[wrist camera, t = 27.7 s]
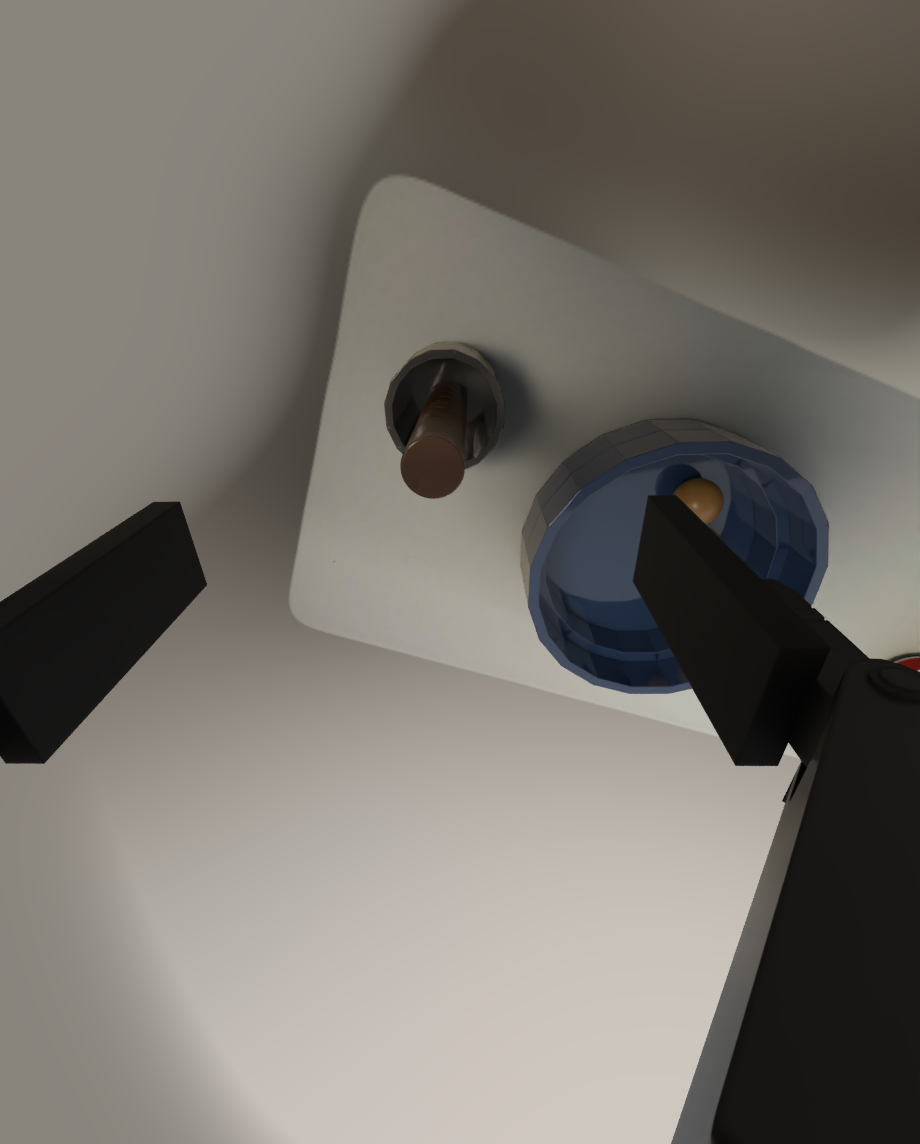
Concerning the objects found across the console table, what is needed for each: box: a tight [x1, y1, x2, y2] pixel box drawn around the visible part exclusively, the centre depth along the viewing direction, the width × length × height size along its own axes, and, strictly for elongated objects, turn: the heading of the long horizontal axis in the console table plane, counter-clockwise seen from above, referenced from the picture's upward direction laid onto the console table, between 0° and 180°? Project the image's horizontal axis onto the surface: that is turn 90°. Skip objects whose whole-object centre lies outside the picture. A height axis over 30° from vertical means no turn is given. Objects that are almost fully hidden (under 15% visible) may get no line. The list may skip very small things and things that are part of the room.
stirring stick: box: [401, 381, 467, 499], centre depth 28 cm, size 3×3×16 cm
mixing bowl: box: [521, 419, 829, 694], centre depth 38 cm, size 21×21×7 cm
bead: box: [672, 478, 724, 524], centre depth 36 cm, size 4×4×4 cm
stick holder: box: [384, 342, 504, 469], centre depth 33 cm, size 7×7×6 cm
